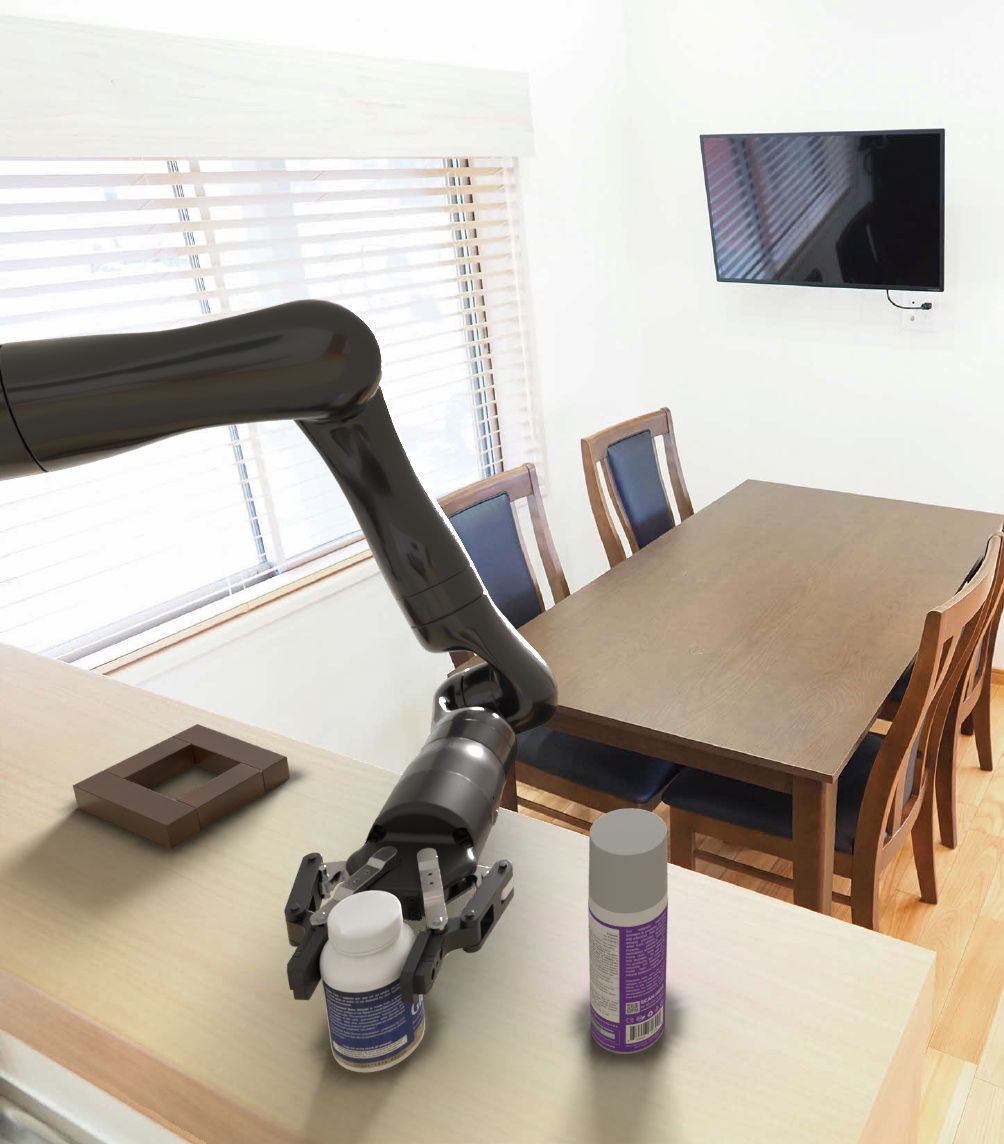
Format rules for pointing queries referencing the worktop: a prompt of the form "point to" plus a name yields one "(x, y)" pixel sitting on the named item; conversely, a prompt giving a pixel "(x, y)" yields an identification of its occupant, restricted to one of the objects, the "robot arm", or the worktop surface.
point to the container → (627, 929)
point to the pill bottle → (369, 983)
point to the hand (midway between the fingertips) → (353, 990)
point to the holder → (172, 821)
